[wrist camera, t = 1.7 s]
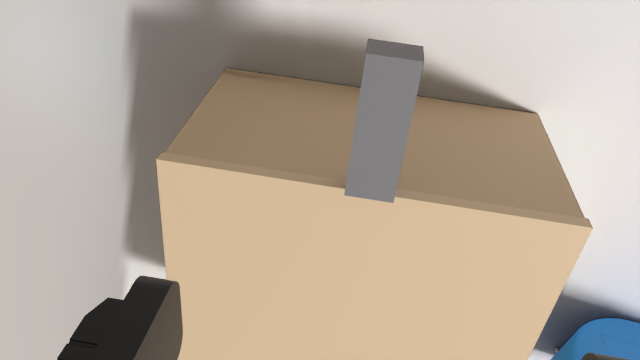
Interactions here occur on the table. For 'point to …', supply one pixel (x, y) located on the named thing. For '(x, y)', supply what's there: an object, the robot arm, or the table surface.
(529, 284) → the carton flap
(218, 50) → the table surface
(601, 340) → the alarm clock
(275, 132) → the carton
